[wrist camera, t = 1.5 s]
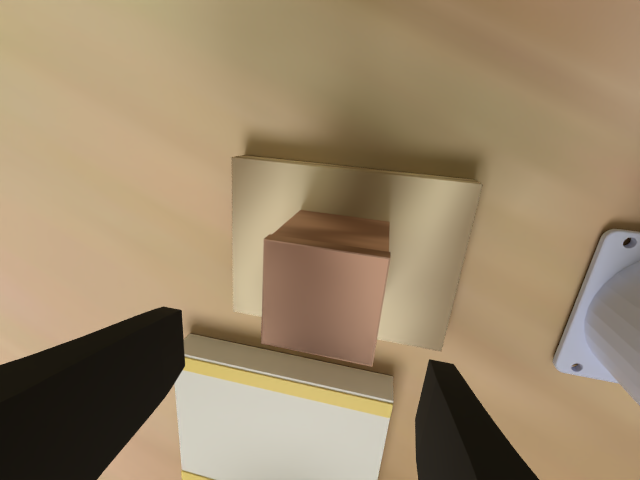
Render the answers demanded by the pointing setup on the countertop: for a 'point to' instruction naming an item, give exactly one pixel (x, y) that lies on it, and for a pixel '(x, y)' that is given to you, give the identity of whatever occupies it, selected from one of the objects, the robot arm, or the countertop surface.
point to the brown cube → (325, 285)
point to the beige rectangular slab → (371, 203)
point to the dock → (277, 415)
